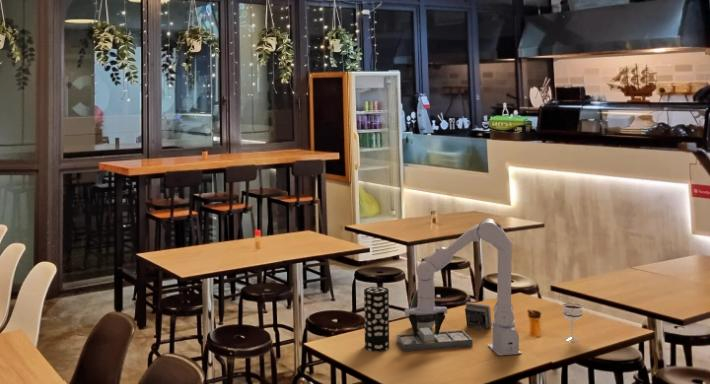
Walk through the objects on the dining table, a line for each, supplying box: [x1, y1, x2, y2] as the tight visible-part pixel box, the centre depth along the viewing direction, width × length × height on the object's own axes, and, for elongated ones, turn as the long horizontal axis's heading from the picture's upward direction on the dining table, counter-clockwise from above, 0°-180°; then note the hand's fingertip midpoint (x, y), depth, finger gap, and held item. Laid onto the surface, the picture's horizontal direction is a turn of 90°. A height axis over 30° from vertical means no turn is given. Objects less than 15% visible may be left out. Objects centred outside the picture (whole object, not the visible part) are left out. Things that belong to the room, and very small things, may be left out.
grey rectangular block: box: [418, 328, 434, 343], centre depth 212 cm, size 7×4×4 cm, turn 9°
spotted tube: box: [363, 286, 390, 352], centre depth 210 cm, size 8×8×20 cm
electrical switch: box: [464, 301, 493, 331], centre depth 229 cm, size 9×5×9 cm, turn 57°
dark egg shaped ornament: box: [409, 289, 436, 330], centre depth 229 cm, size 10×10×15 cm
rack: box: [396, 329, 474, 353], centre depth 213 cm, size 10×24×2 cm, turn 100°
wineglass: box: [562, 302, 584, 343], centre depth 215 cm, size 7×7×12 cm
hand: (426, 334), depth 212 cm, fingers open, 7 cm apart
